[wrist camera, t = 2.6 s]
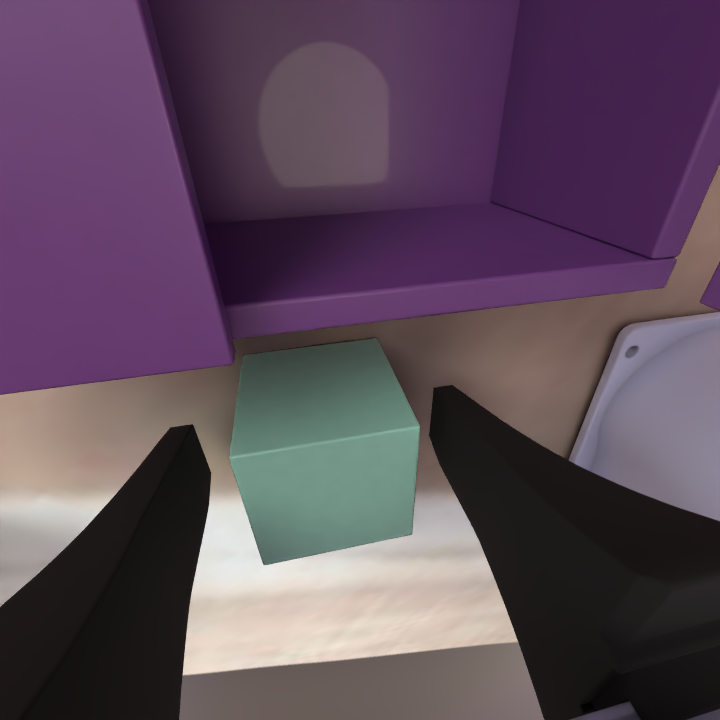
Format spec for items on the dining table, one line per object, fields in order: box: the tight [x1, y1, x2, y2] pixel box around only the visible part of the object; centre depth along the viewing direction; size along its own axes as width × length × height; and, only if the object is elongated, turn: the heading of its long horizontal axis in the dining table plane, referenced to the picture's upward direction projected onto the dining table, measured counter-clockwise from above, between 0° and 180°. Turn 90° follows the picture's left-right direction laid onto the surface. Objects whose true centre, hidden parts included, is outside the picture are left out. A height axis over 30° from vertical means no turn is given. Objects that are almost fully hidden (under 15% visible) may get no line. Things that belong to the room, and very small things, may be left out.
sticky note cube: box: [229, 338, 420, 565], centre depth 11 cm, size 4×4×4 cm
